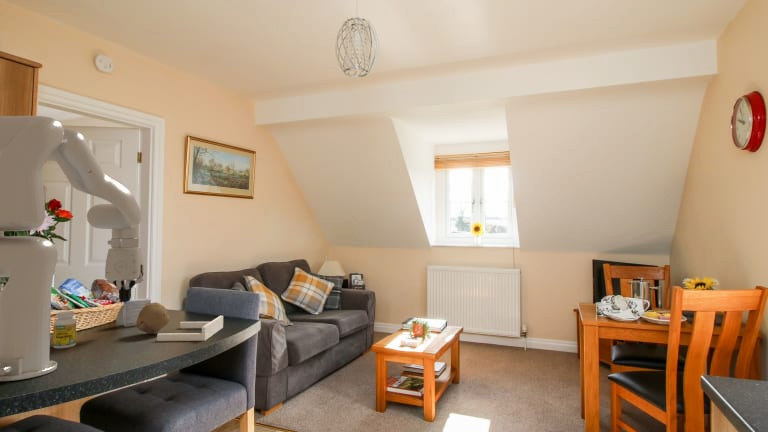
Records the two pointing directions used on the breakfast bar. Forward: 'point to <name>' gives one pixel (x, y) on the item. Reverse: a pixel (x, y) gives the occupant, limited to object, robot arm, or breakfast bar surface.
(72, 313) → the supplement bottle
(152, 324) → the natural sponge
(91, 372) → the breakfast bar surface
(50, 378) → the breakfast bar surface
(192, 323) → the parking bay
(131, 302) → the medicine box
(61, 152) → the robot arm
